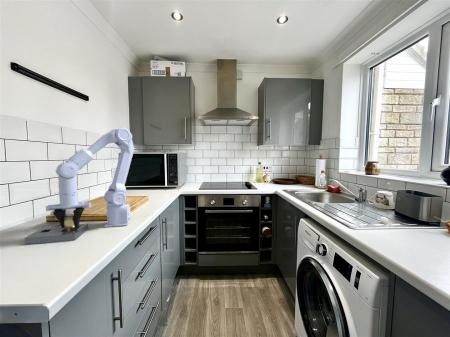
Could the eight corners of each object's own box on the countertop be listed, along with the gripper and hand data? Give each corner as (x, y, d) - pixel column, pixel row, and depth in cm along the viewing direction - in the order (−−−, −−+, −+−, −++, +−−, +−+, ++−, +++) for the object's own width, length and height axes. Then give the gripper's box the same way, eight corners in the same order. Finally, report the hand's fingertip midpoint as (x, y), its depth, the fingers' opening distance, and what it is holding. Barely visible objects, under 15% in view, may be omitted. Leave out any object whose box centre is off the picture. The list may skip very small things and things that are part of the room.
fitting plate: (88, 228, 90) (88, 222, 89) (75, 240, 78) (74, 233, 78) (45, 232, 86) (45, 225, 86) (24, 244, 74) (24, 237, 74)
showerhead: (43, 211, 91) (63, 205, 101) (44, 227, 92) (64, 219, 102) (62, 211, 90) (81, 205, 100) (64, 227, 91) (81, 220, 101)
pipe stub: (79, 229, 84) (78, 214, 83) (69, 233, 80) (68, 218, 79) (72, 227, 85) (70, 213, 84) (61, 231, 81) (60, 217, 81)
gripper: (92, 190, 88) (94, 221, 89) (51, 192, 83) (53, 225, 84) (87, 193, 81) (89, 227, 82) (41, 196, 76) (44, 231, 77)
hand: (70, 226), depth 83 cm, fingers closed on pipe stub, 4 cm apart
